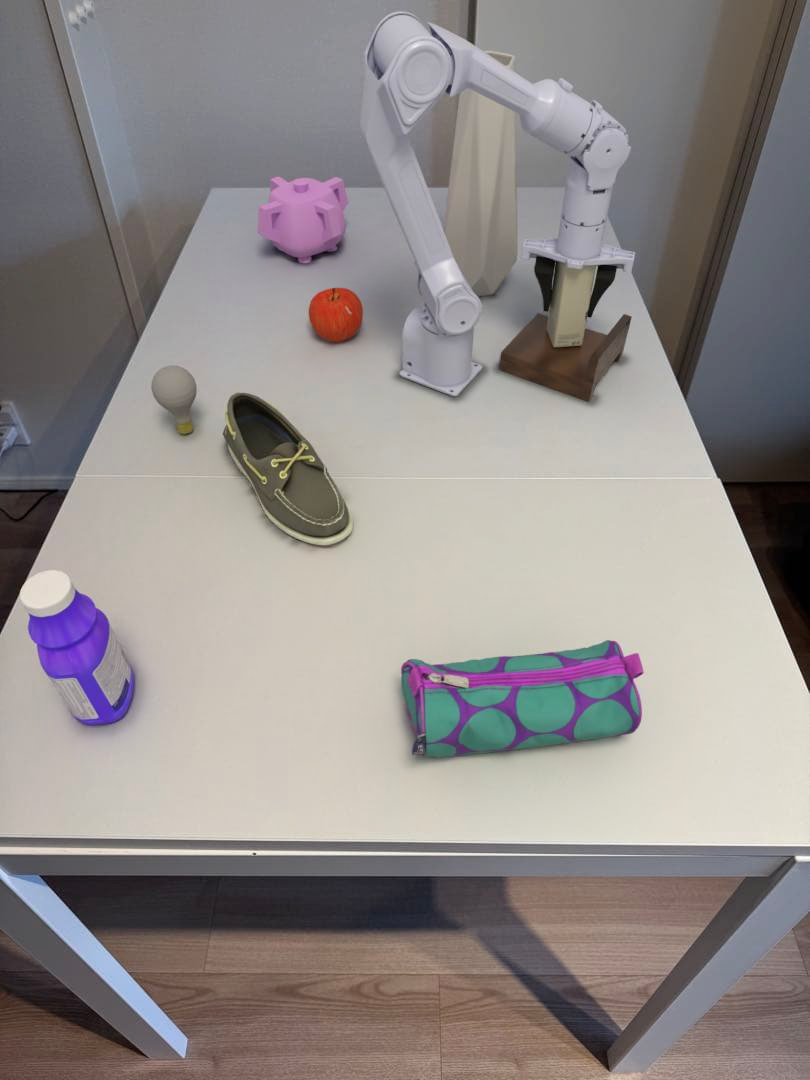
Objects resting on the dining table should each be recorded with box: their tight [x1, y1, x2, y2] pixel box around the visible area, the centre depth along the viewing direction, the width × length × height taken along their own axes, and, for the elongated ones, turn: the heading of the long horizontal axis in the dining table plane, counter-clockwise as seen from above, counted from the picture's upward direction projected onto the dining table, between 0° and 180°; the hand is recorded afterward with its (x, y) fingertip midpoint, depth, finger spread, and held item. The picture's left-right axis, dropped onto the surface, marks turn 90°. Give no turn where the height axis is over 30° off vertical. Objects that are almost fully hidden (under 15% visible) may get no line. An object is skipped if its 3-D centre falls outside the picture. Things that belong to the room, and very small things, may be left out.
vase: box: [443, 50, 519, 297], centre depth 114 cm, size 12×12×33 cm
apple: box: [308, 287, 364, 343], centre depth 114 cm, size 8×8×8 cm
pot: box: [257, 176, 350, 264], centre depth 130 cm, size 18×17×12 cm
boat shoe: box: [222, 392, 354, 546], centre depth 93 cm, size 24×10×7 cm, turn 27°
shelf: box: [498, 312, 633, 403], centre depth 109 cm, size 14×12×7 cm
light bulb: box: [151, 365, 198, 435], centre depth 99 cm, size 6×5×10 cm
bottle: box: [19, 569, 135, 726], centre depth 69 cm, size 7×6×17 cm
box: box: [547, 261, 597, 347], centre depth 106 cm, size 5×4×13 cm
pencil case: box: [400, 639, 645, 758], centre depth 70 cm, size 21×9×10 cm, turn 97°
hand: (567, 310), depth 108 cm, fingers closed on box, 5 cm apart
